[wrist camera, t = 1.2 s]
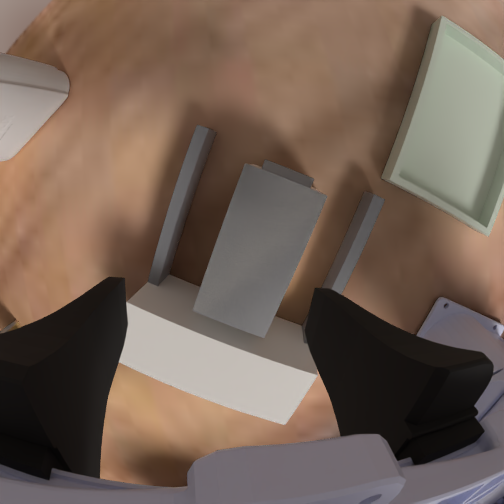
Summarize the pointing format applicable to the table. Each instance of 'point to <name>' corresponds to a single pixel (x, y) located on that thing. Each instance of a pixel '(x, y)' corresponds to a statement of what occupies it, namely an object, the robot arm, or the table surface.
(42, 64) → the photo printer
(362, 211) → the printer bay
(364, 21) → the table surface
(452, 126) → the tray
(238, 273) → the grey rectangular block
